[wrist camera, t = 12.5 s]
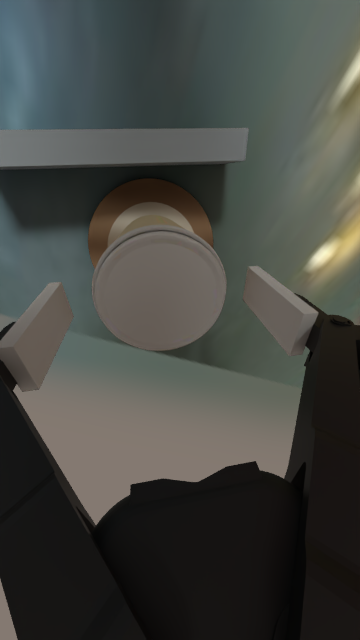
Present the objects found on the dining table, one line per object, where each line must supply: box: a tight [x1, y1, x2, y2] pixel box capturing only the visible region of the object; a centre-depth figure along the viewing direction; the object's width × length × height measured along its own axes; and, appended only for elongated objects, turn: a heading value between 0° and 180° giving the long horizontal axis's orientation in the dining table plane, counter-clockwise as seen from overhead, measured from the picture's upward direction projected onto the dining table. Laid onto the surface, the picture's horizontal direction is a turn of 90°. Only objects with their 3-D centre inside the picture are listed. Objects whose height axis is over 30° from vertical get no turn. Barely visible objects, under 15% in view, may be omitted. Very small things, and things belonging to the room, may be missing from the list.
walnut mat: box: [88, 178, 213, 268], centre depth 25 cm, size 14×14×1 cm
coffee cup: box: [92, 215, 227, 351], centre depth 19 cm, size 9×9×12 cm
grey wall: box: [0, 128, 249, 170], centre depth 18 cm, size 2×22×5 cm, turn 92°
